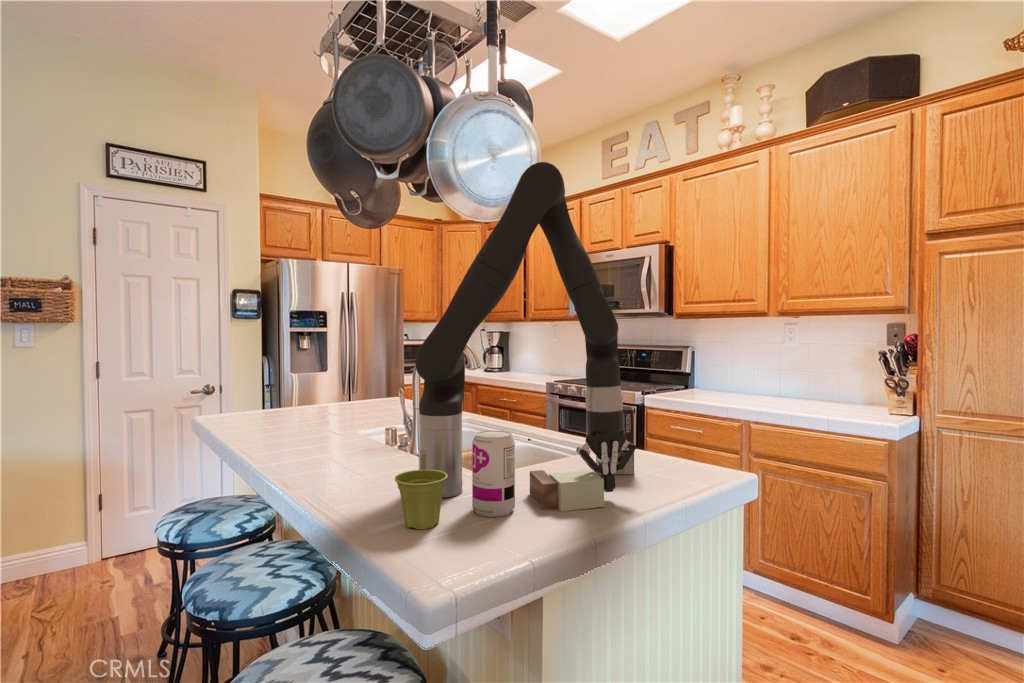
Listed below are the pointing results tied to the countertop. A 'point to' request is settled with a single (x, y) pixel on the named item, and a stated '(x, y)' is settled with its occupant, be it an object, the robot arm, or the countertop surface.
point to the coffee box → (627, 438)
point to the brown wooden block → (543, 489)
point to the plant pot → (421, 497)
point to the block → (579, 490)
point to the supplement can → (493, 473)
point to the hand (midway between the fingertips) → (608, 490)
